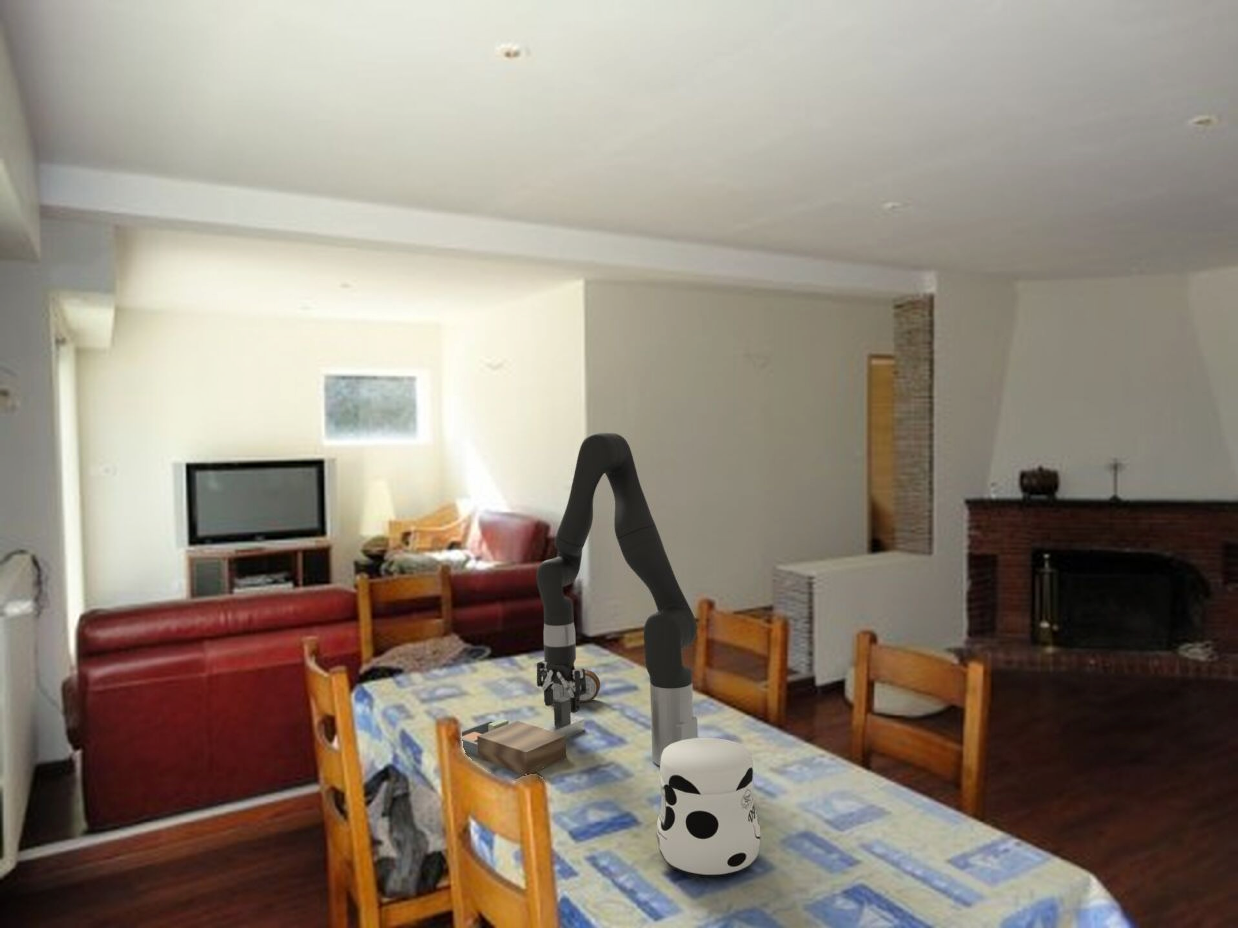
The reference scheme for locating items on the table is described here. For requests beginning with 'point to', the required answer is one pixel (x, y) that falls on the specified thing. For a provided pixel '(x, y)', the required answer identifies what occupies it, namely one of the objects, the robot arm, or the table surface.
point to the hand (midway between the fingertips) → (561, 708)
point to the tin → (591, 688)
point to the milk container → (707, 807)
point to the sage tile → (497, 724)
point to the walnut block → (521, 747)
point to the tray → (470, 745)
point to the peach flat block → (472, 736)
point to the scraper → (565, 719)
